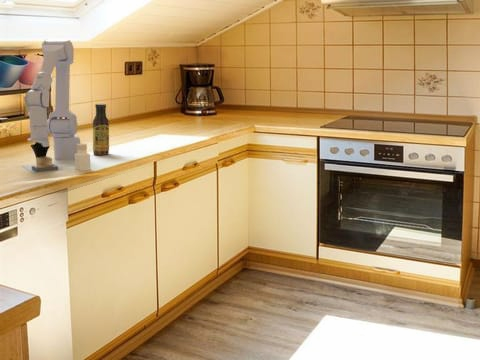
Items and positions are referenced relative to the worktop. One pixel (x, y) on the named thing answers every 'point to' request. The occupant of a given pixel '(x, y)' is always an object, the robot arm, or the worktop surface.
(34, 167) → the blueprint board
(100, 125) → the sauce bottle
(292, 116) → the worktop surface
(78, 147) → the pepper shaker
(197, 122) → the worktop surface
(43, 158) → the maple block
